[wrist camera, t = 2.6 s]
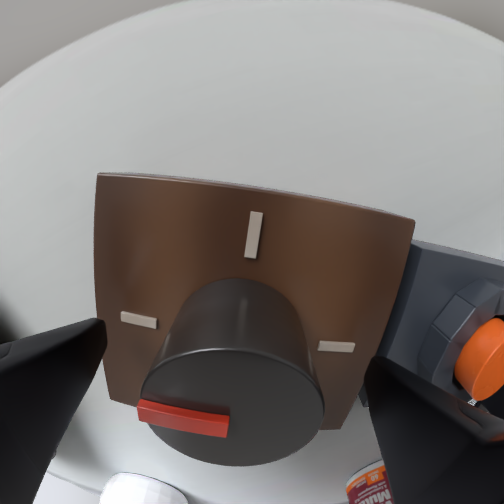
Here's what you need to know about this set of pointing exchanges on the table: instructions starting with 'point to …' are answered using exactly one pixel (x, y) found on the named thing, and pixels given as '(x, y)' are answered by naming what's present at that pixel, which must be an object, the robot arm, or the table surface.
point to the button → (482, 361)
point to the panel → (243, 270)
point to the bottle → (139, 491)
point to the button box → (440, 312)
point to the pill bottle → (370, 486)
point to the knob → (234, 378)
